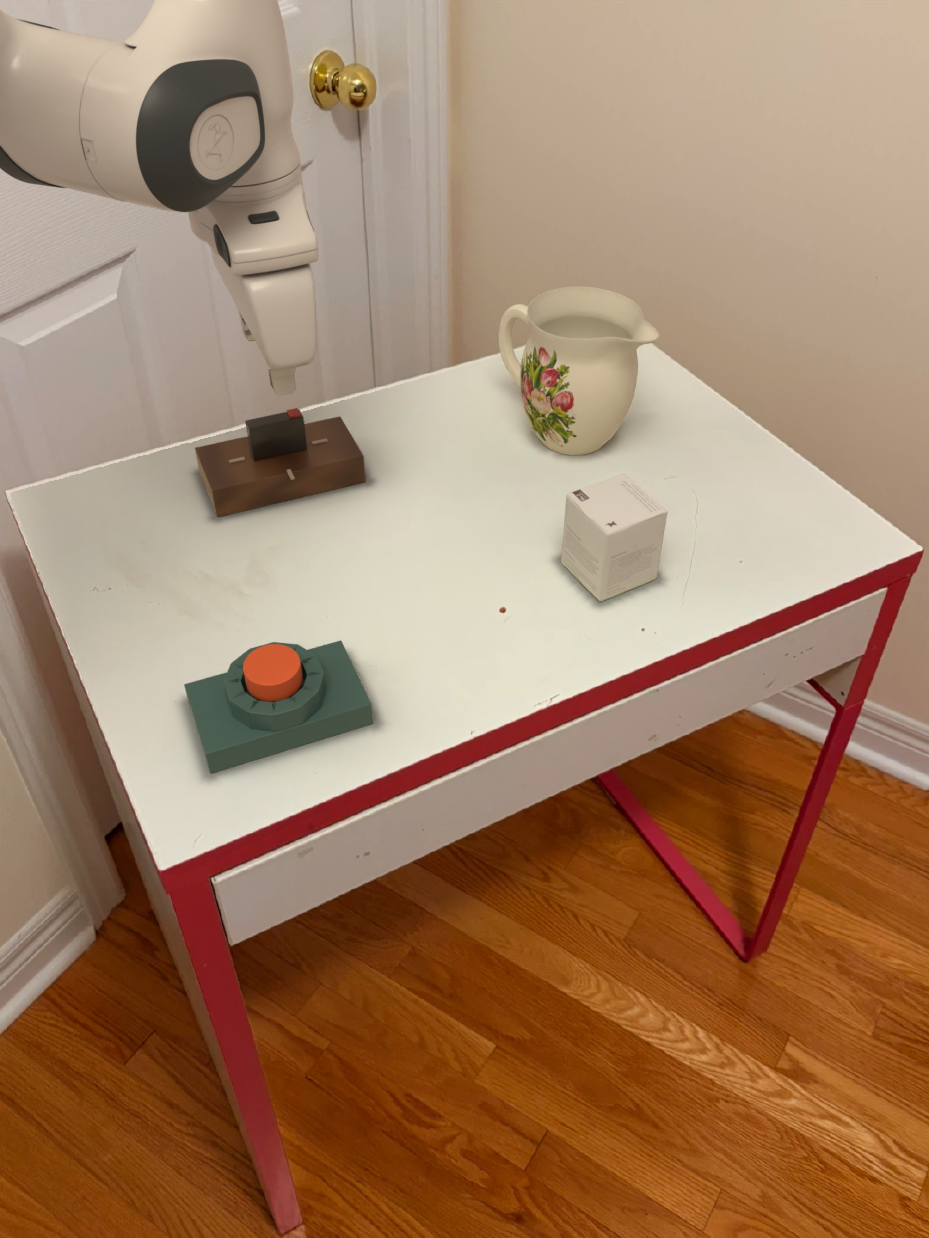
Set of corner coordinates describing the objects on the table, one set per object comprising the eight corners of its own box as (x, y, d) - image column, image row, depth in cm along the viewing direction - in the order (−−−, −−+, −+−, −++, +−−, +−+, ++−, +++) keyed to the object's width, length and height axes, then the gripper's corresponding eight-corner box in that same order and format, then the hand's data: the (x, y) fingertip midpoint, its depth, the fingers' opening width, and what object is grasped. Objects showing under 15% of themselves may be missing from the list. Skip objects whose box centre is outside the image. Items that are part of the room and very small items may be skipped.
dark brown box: (254, 461, 95) (248, 426, 92) (250, 452, 96) (244, 418, 93) (307, 449, 96) (303, 414, 94) (303, 441, 97) (299, 406, 94)
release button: (254, 708, 73) (250, 691, 72) (240, 669, 76) (236, 652, 74) (309, 692, 74) (307, 675, 73) (293, 654, 77) (291, 637, 75)
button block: (210, 773, 73) (200, 737, 70) (189, 703, 78) (179, 667, 75) (372, 724, 77) (370, 687, 74) (343, 659, 81) (339, 623, 78)
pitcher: (534, 376, 111) (542, 252, 102) (671, 446, 102) (694, 317, 93) (461, 417, 106) (462, 289, 96) (600, 494, 97) (616, 362, 87)
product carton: (657, 580, 88) (670, 511, 83) (598, 604, 86) (608, 534, 81) (615, 539, 92) (625, 471, 87) (557, 561, 90) (564, 492, 85)
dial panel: (219, 524, 93) (214, 496, 91) (197, 467, 99) (191, 439, 97) (369, 488, 97) (367, 460, 95) (339, 436, 103) (336, 408, 101)
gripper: (176, 159, 86) (205, 314, 96) (237, 265, 72) (263, 433, 82) (252, 148, 88) (272, 301, 97) (324, 250, 74) (340, 416, 84)
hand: (268, 362), depth 90 cm, fingers open, 8 cm apart
